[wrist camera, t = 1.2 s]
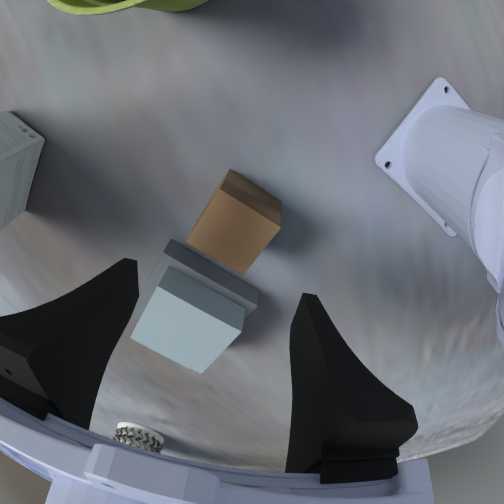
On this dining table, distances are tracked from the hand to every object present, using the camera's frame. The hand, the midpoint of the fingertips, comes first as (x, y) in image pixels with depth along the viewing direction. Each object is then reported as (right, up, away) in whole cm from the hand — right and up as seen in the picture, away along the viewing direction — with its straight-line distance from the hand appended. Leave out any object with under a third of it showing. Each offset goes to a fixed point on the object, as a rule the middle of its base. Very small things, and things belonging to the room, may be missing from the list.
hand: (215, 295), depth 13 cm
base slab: (-3, -2, +13) cm, 13 cm away
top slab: (-3, -3, +11) cm, 12 cm away
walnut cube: (+1, +5, +8) cm, 9 cm away
